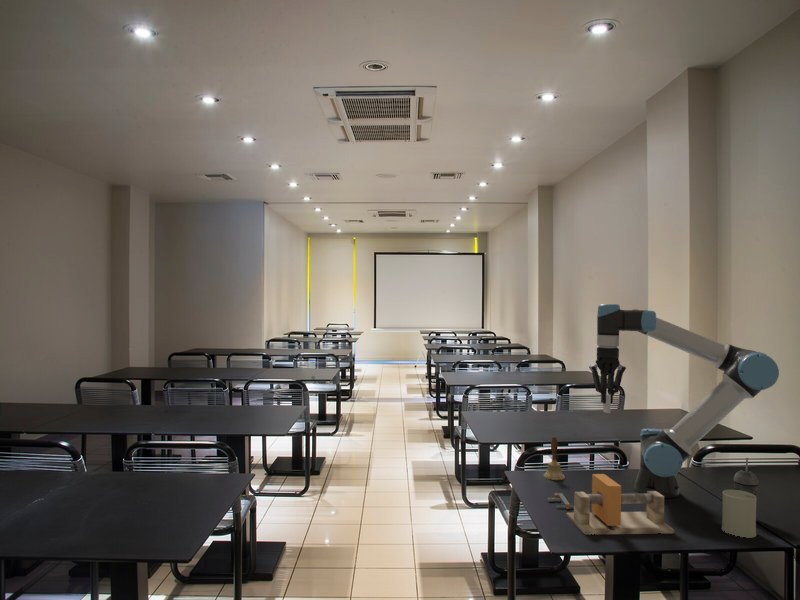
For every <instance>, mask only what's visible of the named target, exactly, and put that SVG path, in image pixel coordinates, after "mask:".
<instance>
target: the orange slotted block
mask: <svg viewBox="0 0 800 600" xmlns="http://www.w3.org/2000/svg"><path fill="white" fill-rule="evenodd" d="M591 476H592V478H591V494H602V495H603V504H591V512H593V513H594V514H596V515H597V516H598V517H599V518H600V519H601V520H602V521H603V522H604V523H606V524H607V525H608V526H620V525H621V512H622V504H621V494H622V485H621V484H619V483H617V482H616V481H615V480H613V479H612V478H611V477H609V476H608V475H606V474H604V473H593V474H592V475H591Z"/></svg>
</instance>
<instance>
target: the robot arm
mask: <svg viewBox="0 0 800 600" xmlns="http://www.w3.org/2000/svg"><path fill="white" fill-rule="evenodd" d="M596 317H597V318H596V323H597V325H596V330H597V331H596V345H597V346H598V347H596V360H595V363H594V364H592V365H589V366H588V368H589V370H590V371H591V375H592V378H593V384H594V388H595V391H596V392H597V393H599V394H600V402H601V404H602V412H603V413H605V414H611V405H612V404H613V403H614V395H615V394H617V393H619V390H620V387H621V382H622V379H623V375H624V373H625V371H626V369H627V367H626V366H624V365H622V364H621V362H620V360H619V357H620V348H619V346H620V331H621V332H623V331H624V332H625V331H626V332H627V331H628V332H638V333H640V334H642V335H645V336H648V337H650V338H652V339H655V340H656V341H657V340H658V341H659V342H661V343H664V344H666V345H669V346H672V347H674V348H676V349H678V350H681V351H683V352H685V353H688V354H690V355H692V356H695V357H698V358H699V359H702V360H705V361H707V362H709V363H712V364H714V367H715V368H716V369H718V370H720V371H722V380H721V381H720V382H719V383H718V384H717V385H716V386H715V387H714V388H713V389H712V390H711V391H710V392H709V393H707V395H705V396H704V397H703V398H702V399H701V400H700V401H699V402H698V403H697V404H696V405H695V406H694V407H693V408H692V409H690V410H689V412H687V413H686V414H685V415H684V416H683V417H682V418H681V419H680V420H678V422H676V424H675V425H674V426H672V427H671V428H664V429H663V428H661V429H660V428H642V429H640V435H639V437H640V449H639V450H640V454H639V457H640V459H639V470H638V472H637V475H636V477H635V478H636V479H635V481H634V490H635V491H637V492H638V493H639V494H647V491H657V492H658V493H660V494H661V495H663V496H664V499H669V498H670V499H671V498H676V497H678V496H680V486H679V483H678V479H677V477H676V475H677V474H678V473H679V472H680V471H681V469H682V467H683V463H684V462H686V460H687V459H689V458H690V457H691V456H692V448H693V447H694V446H695V445H696V444H697V443H699V442H700V440H702V439H703V438H704V437H706V435H707V434H709V432H710V431H711V430H713V429H714V428H715V426H717V425H718V424H719V423H720V422H721V421H722V420H724V419H725V418H726V417H727V416H728V415H729V413H731V412H732V411H733V410H734V409H736V407H737V406H739V405H740V404H741V402H743V401H744V400H745V399H754V398H755V397H756V396H757V395H758V394H759V393H760V392H761V391H763V390H767V389H769V388H772V386H774V385H775V384H776V382H777V381H778V380H779V375H780V370H779V367H778V364H777V362H776V361H775V360H774V359H773V358H772V357H771V356H769V355H767V354H766V353H764V352H760V351H756V350H751V349H746V348H742V347H738V346H734V345H733V344H730V343H726V344H722V343H720V342H717V341H715V340H713V339H711V338H707V337H705V336H702V335H701V334H699V333H695V332H693V331H691V330H688V329H686V328H683V327H681V326H678V325H677V324H674V323H671V322H669V321H667V320H664V319H662V318H659V317H657V313H656V312H655V310H648V309H644V310H642V309H621V308H620V305H619V304H618V303H617V304H616V303H615V304H614V303H613V304H612V303H611V304H609V303H603V304H602V303H601V304H599V305H598V306H597V316H596ZM598 369H599V370H598ZM598 371H600V376H599V372H598ZM615 371H616V372H615ZM615 373H616V375H615Z"/></svg>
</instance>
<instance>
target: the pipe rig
mask: <svg viewBox="0 0 800 600" xmlns="http://www.w3.org/2000/svg"><path fill="white" fill-rule="evenodd" d="M573 496H574V497H573V506H574V508H573V512H566V514H565V515H566V517H567V518H568V519H569V520H570V521H571V522H572V523H573V524H574V525H575V526H576V527H577V528H578V529H579V531H581V532H582V533H583V534H584V535H591V534H592V535H594V534H595V535H644V534H645V535H646V534H649V535H651V534H654V535H655V534H658V533H661V534H675V529H673V527H671V526H669V525H668V524H667V523H665V498H664V496H663V495H661V494H660V493H658V492H657V491H647V494H642V493H621V505H622V504H623V505H627V504H628V505H630V504H631V505H634V504H636V505H638V504H642V505H643V504H644V505H645V504H646V511H621V525H620V526H608V525H607V524H606V523H604V522H603V521H602V520H601V519H600V518H599V517H598V516H597V515H596V514H594V513H593V512H592V511H591V510H590V508H591V505H592V504H603V495H602V494H592V493H586V492H585V491H574V494H573ZM595 535H594V536H595Z"/></svg>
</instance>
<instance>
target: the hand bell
mask: <svg viewBox="0 0 800 600" xmlns="http://www.w3.org/2000/svg"><path fill="white" fill-rule="evenodd" d="M550 448H551V461H550V462H548V465H547V470H546V472H545V473H543V477H544V478H545V479H547V480H550V479H551V480H550V481H552V480H553V481H562V480H565V479H566V477H565V475H564V474H563V472H562V469H561V463H559V462H558V461H557V452H558V441H557V436H552V438H551V442H550Z"/></svg>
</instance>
